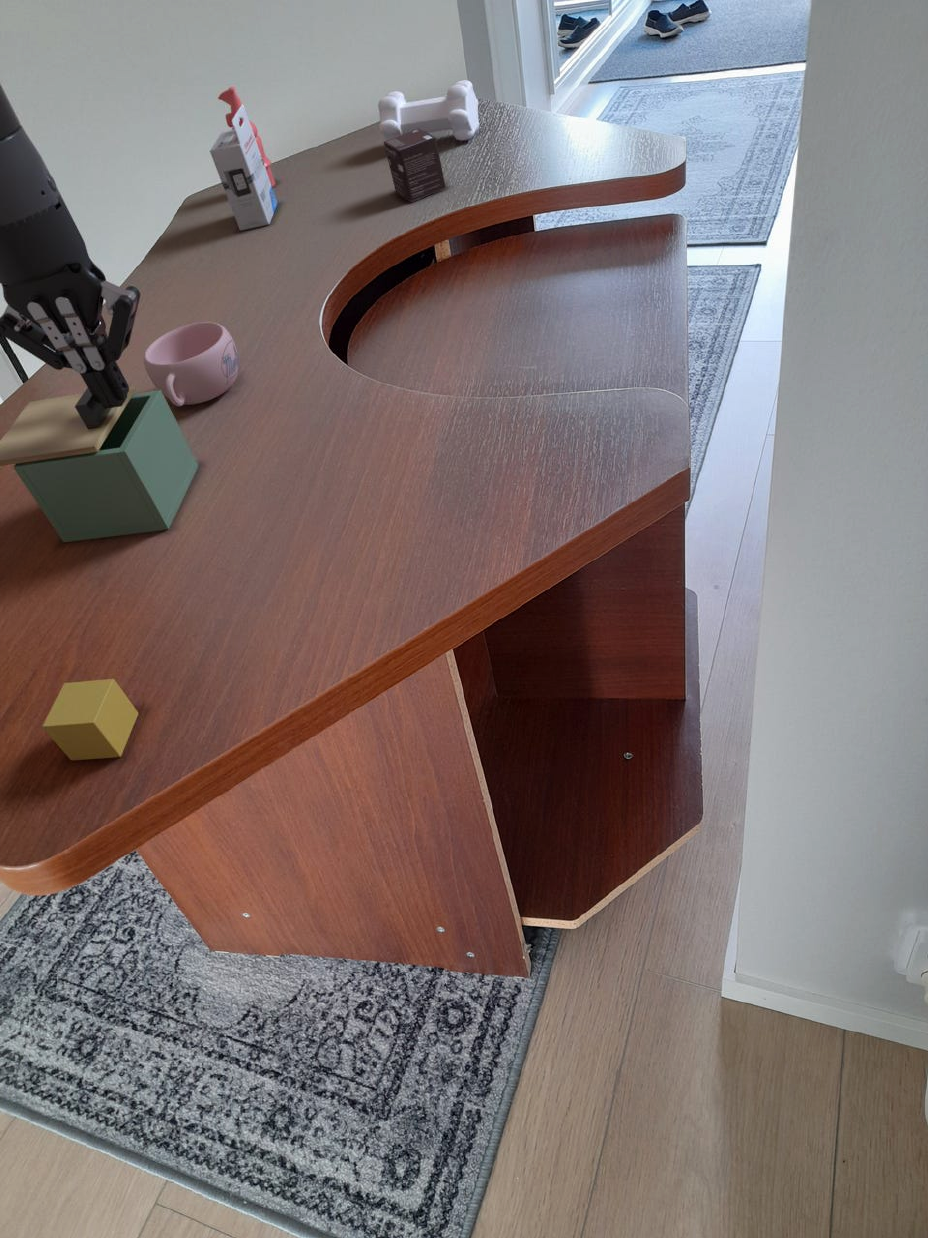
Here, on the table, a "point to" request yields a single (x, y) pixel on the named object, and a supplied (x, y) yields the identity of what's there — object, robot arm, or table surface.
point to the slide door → (59, 428)
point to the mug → (193, 363)
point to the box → (415, 165)
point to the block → (91, 719)
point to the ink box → (244, 174)
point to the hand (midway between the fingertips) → (117, 402)
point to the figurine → (235, 103)
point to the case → (118, 476)
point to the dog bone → (431, 113)
